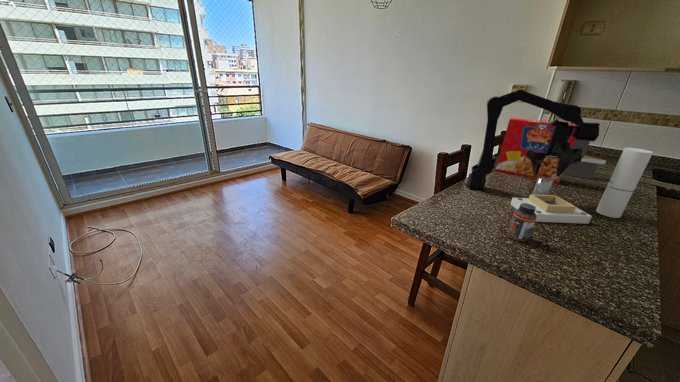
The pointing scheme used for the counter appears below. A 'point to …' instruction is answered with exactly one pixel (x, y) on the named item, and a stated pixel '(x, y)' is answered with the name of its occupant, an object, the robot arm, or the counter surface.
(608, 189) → the cylindrical container
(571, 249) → the counter surface
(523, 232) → the supplement bottle
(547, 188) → the spout can
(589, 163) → the architectural model
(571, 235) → the counter surface
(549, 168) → the pasta box
